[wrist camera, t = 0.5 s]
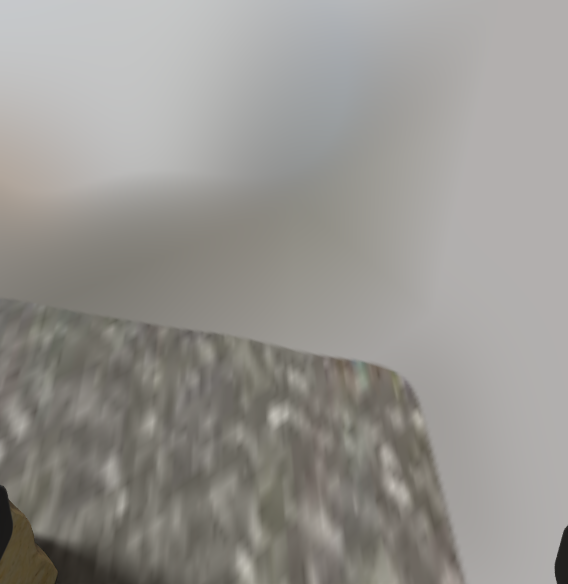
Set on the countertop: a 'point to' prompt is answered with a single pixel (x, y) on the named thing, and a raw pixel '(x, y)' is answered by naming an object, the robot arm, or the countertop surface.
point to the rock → (25, 556)
